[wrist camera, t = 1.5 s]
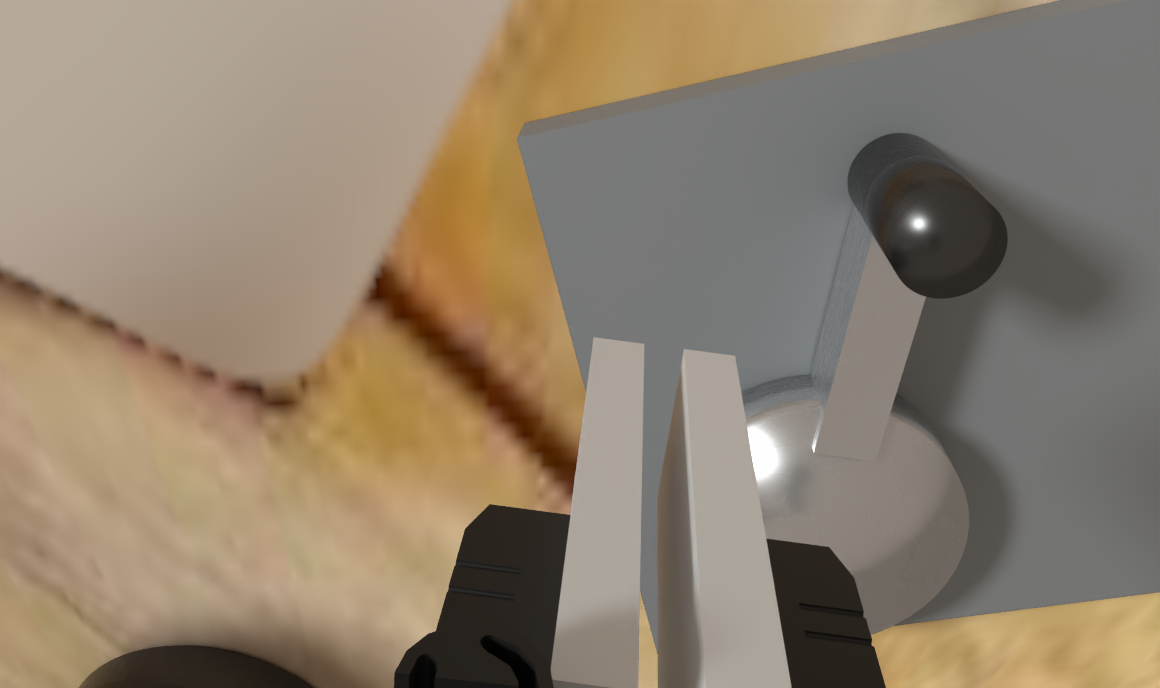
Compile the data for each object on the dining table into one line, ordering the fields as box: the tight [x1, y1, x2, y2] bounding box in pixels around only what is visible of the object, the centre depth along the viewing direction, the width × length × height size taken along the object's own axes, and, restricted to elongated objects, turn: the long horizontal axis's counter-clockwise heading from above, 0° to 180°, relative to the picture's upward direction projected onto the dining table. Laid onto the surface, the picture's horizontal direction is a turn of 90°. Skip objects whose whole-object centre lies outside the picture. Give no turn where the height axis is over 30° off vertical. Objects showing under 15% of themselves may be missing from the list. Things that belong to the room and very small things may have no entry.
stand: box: [517, 0, 1160, 654], centre depth 32 cm, size 25×22×2 cm
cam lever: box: [741, 133, 1008, 634], centre depth 30 cm, size 18×10×6 cm, turn 174°
